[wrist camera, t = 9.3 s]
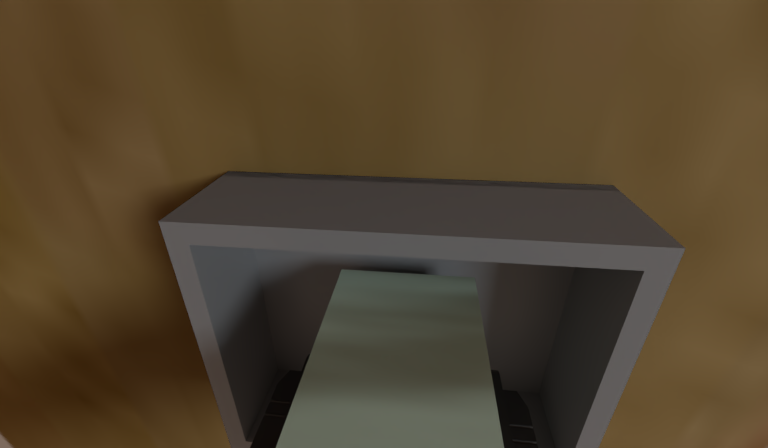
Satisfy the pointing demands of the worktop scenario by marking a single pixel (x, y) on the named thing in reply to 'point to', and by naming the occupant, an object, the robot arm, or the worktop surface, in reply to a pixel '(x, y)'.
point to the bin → (431, 257)
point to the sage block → (397, 368)
